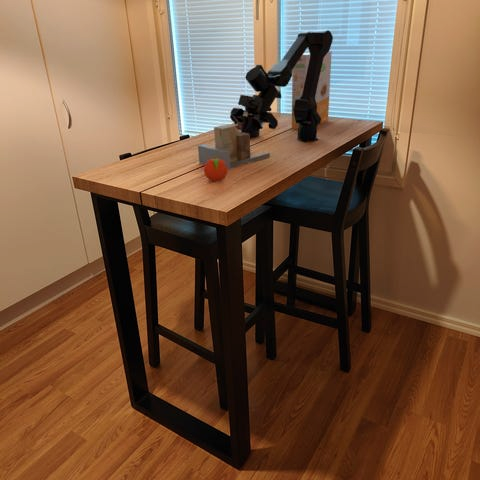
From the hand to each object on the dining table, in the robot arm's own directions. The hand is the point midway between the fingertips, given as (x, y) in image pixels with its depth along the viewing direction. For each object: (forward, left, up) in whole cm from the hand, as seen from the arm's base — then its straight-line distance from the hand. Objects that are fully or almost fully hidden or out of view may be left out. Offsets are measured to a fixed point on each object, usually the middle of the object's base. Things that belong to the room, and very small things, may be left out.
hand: (241, 138), depth 146 cm
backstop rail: (+3, +1, -7) cm, 7 cm away
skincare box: (+6, +4, -7) cm, 10 cm away
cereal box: (-45, -40, -7) cm, 60 cm away
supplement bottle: (-14, -31, -7) cm, 34 cm away
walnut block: (+2, +1, -7) cm, 7 cm away
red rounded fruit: (+14, +21, -7) cm, 27 cm away
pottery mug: (-15, -51, -7) cm, 54 cm away
